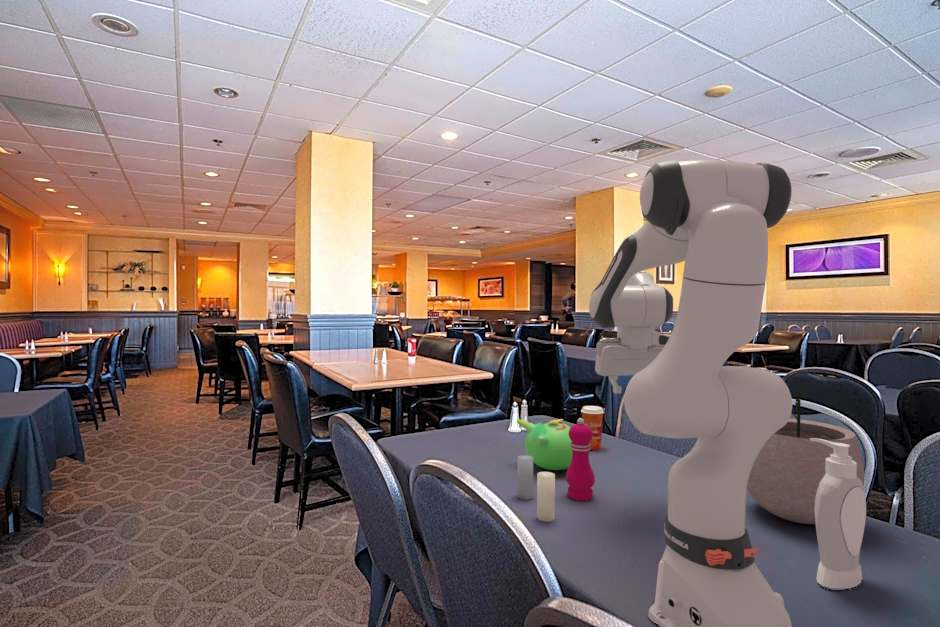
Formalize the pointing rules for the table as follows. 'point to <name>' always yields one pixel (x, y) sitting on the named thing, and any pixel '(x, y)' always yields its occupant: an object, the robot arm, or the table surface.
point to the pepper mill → (580, 463)
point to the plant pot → (797, 466)
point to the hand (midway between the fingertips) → (634, 392)
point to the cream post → (546, 496)
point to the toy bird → (548, 444)
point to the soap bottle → (839, 519)
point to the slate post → (525, 477)
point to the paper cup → (594, 424)
